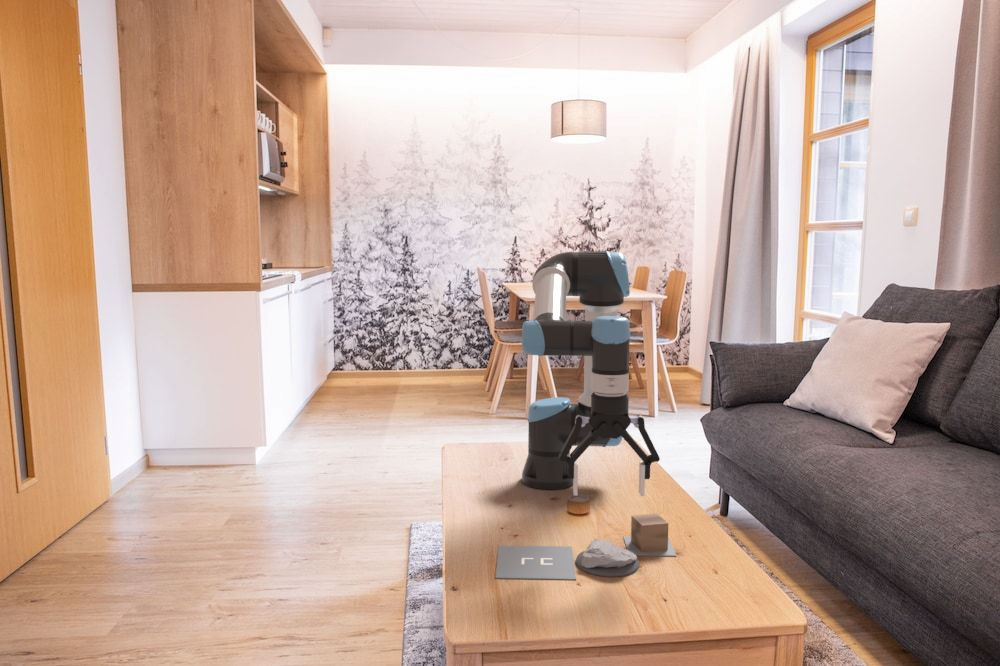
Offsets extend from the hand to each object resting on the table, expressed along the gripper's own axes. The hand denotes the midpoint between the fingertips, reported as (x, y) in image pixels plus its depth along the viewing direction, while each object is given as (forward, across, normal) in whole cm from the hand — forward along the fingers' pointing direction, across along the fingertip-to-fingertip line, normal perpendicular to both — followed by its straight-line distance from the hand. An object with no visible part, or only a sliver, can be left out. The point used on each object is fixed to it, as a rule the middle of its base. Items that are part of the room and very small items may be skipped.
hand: (608, 493), depth 152 cm
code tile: (+15, -15, -1) cm, 21 cm away
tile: (+15, +10, +8) cm, 20 cm away
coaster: (+15, 0, -1) cm, 15 cm away
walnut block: (+15, +10, +8) cm, 20 cm away
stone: (+14, +1, 0) cm, 15 cm away
